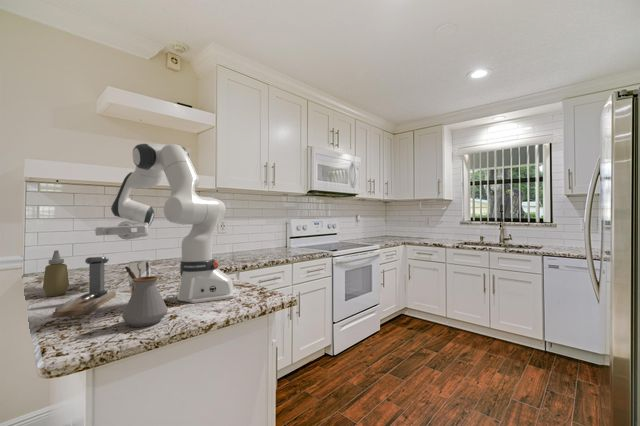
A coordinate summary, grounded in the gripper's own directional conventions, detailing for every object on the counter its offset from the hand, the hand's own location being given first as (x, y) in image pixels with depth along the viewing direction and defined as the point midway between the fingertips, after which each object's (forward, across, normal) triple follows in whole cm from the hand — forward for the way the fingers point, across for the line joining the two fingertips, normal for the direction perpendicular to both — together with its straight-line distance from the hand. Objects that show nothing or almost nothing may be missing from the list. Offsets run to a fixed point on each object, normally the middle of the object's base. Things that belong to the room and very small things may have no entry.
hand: (117, 230), depth 127 cm
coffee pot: (+44, +20, +27) cm, 55 cm away
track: (+22, -2, +26) cm, 34 cm away
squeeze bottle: (0, -22, +25) cm, 34 cm away
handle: (+18, -2, +24) cm, 30 cm away
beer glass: (+25, +15, +26) cm, 39 cm away
